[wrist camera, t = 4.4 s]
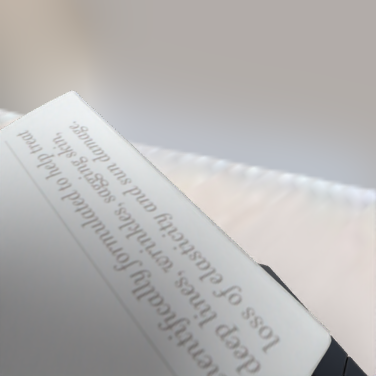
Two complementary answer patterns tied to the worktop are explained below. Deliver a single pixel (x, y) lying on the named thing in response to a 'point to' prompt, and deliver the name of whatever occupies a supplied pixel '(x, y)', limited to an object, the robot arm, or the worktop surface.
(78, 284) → the skincare box
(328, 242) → the worktop surface
